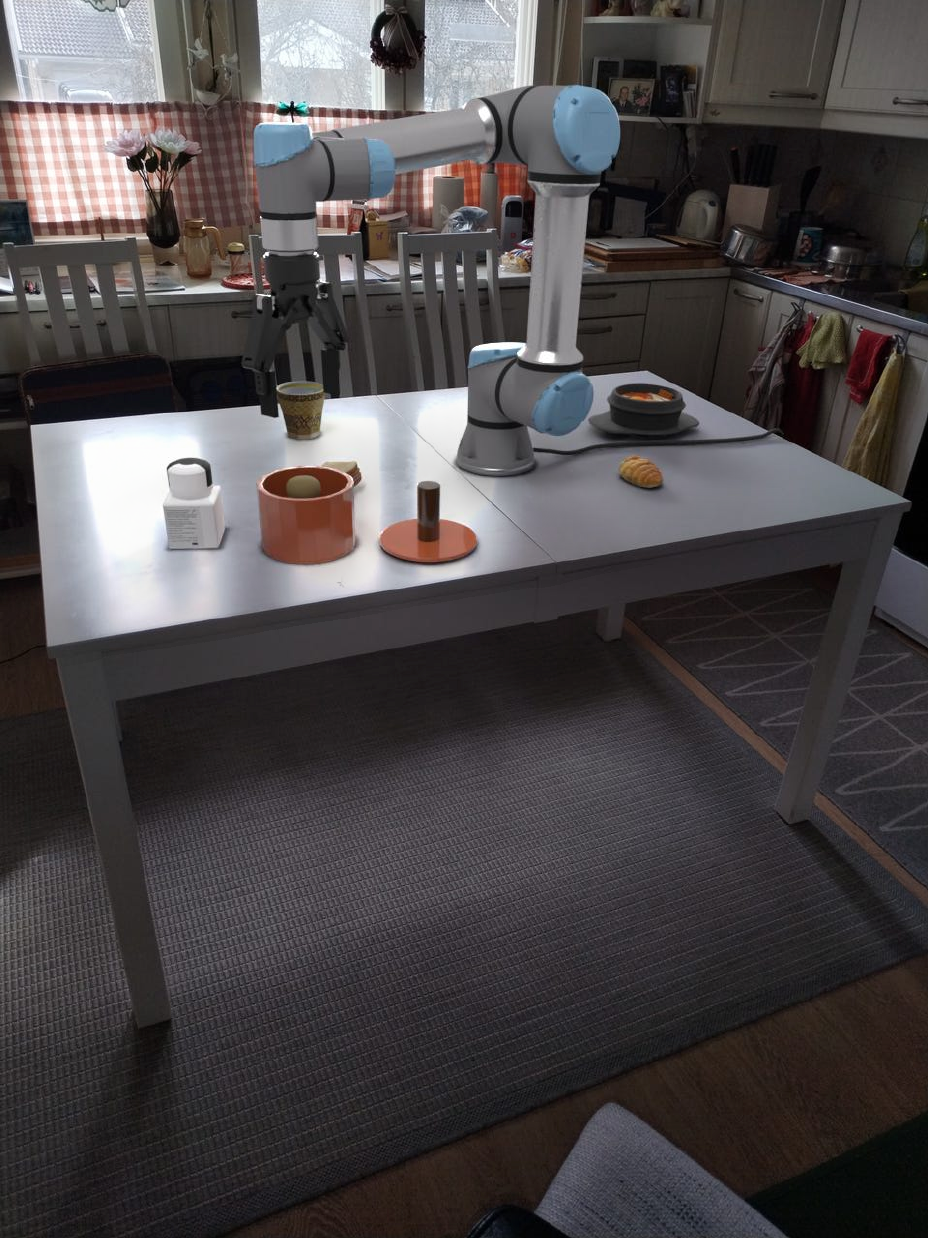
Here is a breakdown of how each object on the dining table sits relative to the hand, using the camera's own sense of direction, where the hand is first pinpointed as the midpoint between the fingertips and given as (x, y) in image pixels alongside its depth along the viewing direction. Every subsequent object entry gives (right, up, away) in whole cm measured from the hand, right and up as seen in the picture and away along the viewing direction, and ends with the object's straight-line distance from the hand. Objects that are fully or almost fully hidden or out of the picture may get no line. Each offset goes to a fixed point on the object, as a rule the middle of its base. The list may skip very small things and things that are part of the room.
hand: (302, 404), depth 136 cm
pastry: (+58, -5, +40) cm, 70 cm away
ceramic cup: (-11, +7, +58) cm, 60 cm away
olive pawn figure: (-1, -20, +10) cm, 22 cm away
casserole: (+63, +10, +67) cm, 92 cm away
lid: (+18, -19, +12) cm, 29 cm away
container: (-19, -19, +12) cm, 29 cm away
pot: (-1, -20, +11) cm, 23 cm away
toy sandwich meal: (-2, -8, +32) cm, 33 cm away
